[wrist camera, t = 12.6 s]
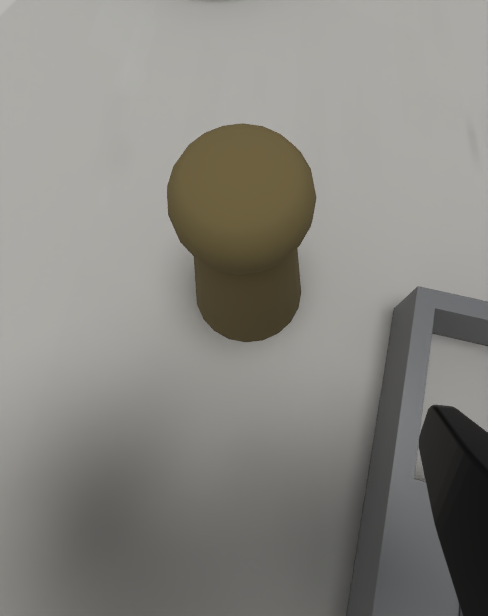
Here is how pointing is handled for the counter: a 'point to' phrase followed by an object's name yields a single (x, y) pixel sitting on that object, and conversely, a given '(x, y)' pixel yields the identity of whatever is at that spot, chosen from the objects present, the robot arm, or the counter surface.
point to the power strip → (408, 469)
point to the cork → (243, 226)
